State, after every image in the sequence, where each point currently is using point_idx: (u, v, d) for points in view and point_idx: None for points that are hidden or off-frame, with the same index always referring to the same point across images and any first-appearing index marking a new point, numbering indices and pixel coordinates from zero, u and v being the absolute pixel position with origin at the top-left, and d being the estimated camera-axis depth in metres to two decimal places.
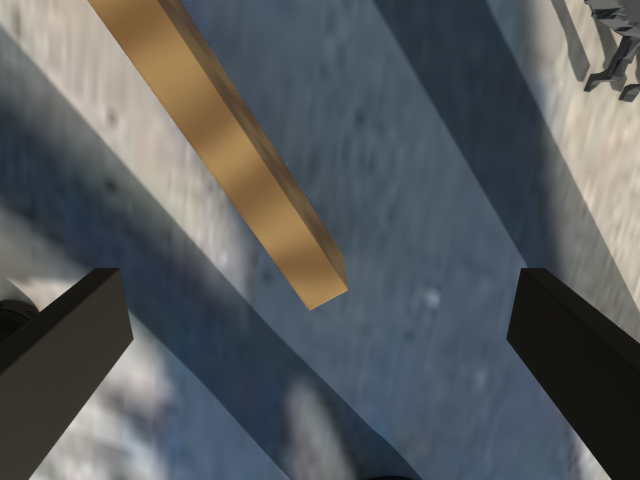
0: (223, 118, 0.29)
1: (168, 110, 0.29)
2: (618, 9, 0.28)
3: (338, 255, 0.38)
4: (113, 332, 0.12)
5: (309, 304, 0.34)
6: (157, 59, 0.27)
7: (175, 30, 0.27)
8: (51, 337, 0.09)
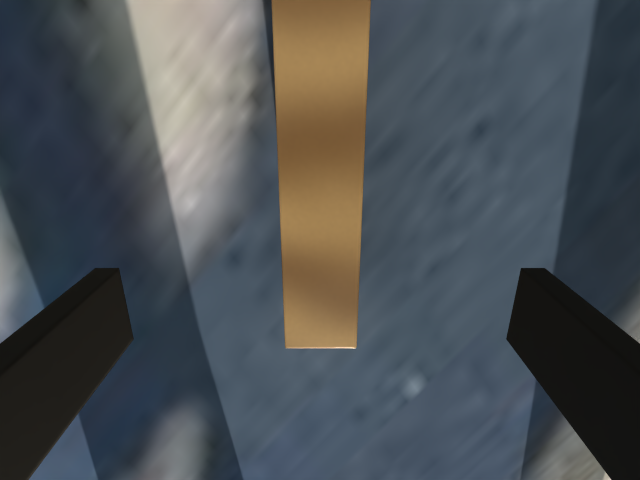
0: None
1: None
2: None
3: None
4: (113, 332, 0.12)
5: (290, 340, 0.22)
6: None
7: None
8: (51, 337, 0.09)
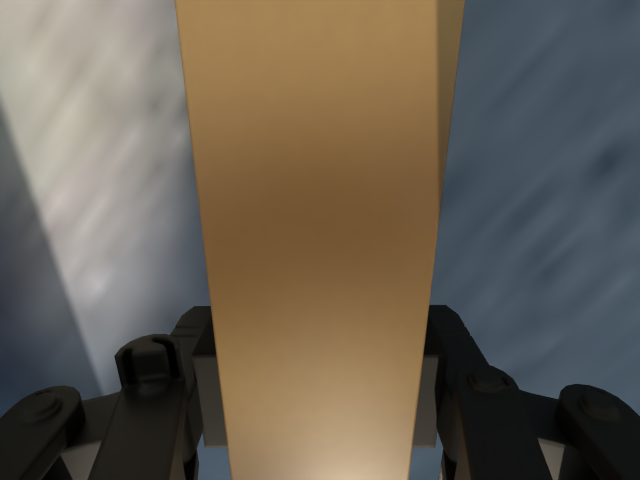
0: None
1: None
2: None
3: None
4: None
5: None
6: None
7: None
8: None
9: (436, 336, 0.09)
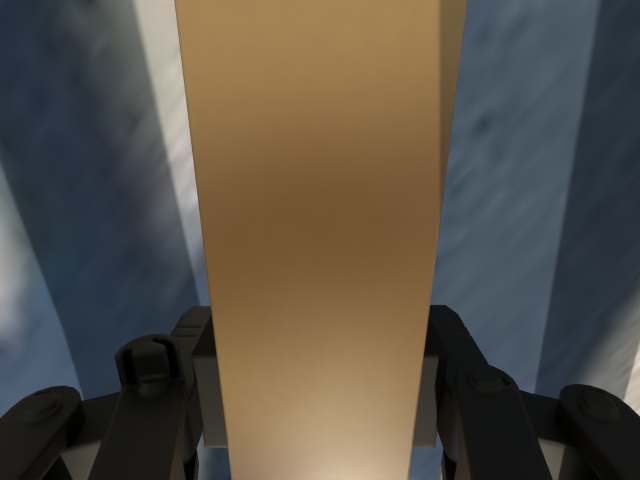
0: None
1: None
2: None
3: None
4: None
5: None
6: None
7: None
8: None
9: (437, 336, 0.09)
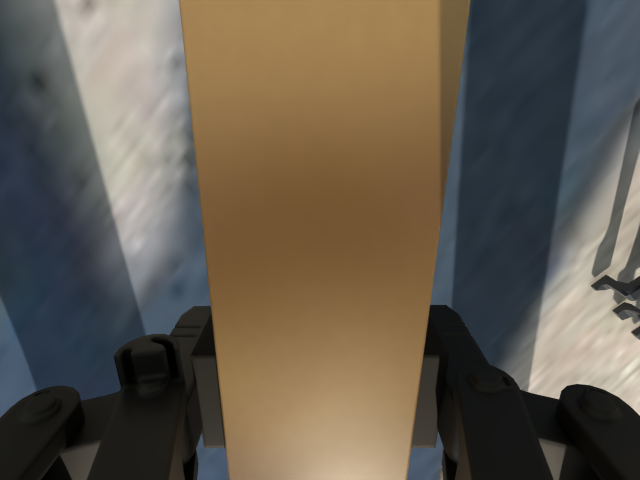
0: None
1: None
2: None
3: None
4: None
5: None
6: None
7: None
8: None
9: (437, 336, 0.09)
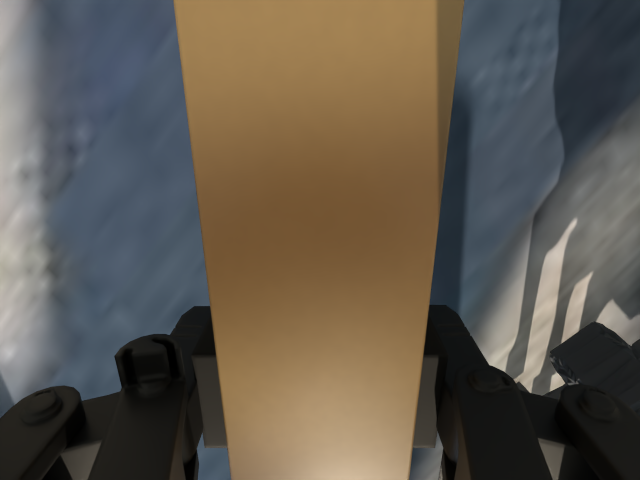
0: None
1: None
2: None
3: None
4: None
5: None
6: None
7: None
8: None
9: (437, 336, 0.09)
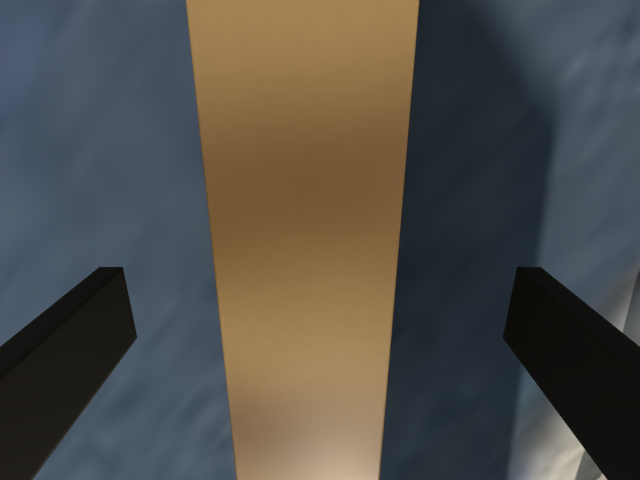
0: None
1: None
2: None
3: None
4: (117, 331, 0.12)
5: None
6: None
7: None
8: (57, 335, 0.09)
9: None
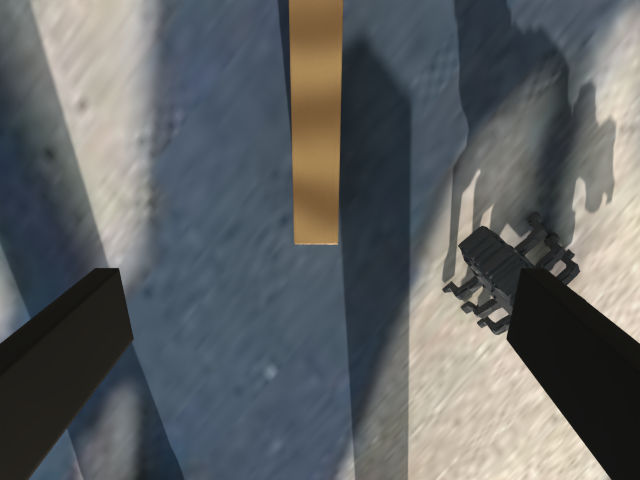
0: (332, 33, 0.29)
1: None
2: None
3: None
4: (113, 332, 0.12)
5: (297, 238, 0.36)
6: None
7: None
8: (51, 337, 0.09)
9: None
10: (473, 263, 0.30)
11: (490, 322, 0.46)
